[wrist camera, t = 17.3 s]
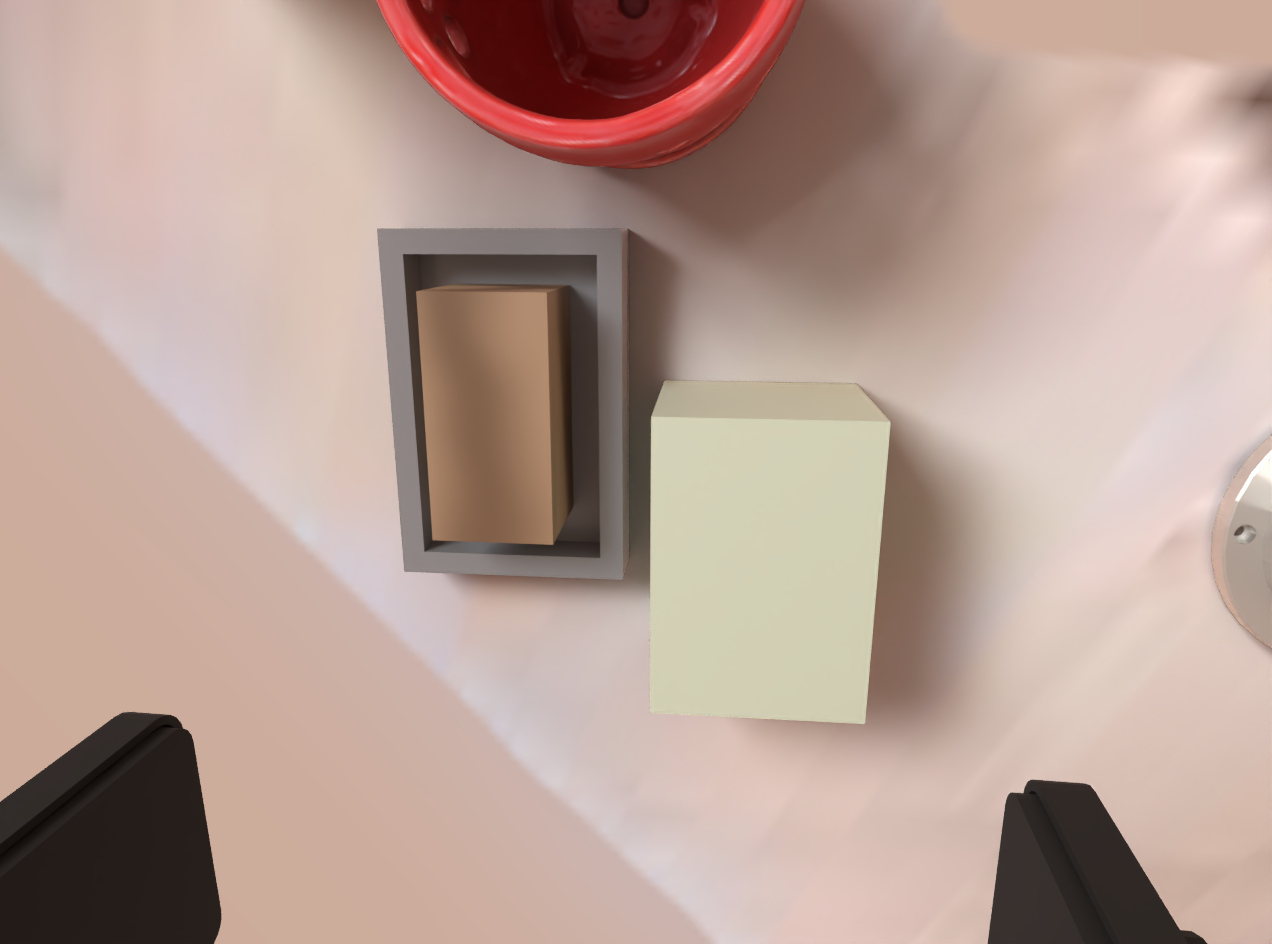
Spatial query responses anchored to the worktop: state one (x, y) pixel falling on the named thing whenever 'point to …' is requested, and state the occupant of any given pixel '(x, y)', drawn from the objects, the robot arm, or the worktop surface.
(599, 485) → the tray
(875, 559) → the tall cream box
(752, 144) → the worktop surface
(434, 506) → the block
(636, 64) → the plant pot
